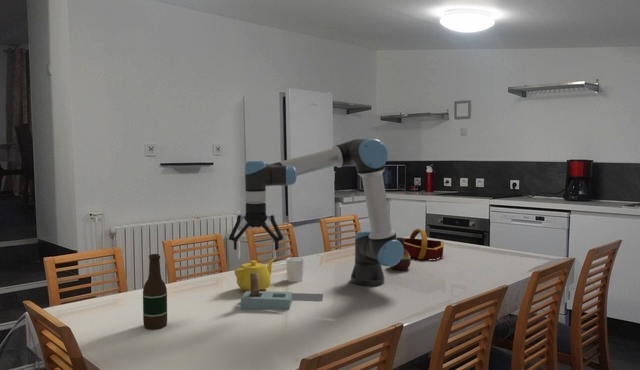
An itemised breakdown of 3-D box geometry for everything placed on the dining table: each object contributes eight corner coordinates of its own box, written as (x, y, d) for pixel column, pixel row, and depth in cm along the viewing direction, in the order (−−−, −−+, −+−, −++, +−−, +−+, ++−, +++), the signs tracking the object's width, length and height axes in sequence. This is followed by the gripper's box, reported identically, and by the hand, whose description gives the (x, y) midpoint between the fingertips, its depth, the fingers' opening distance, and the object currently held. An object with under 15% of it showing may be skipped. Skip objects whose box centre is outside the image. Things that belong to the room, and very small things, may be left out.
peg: (260, 304, 193) (260, 273, 192) (256, 306, 190) (256, 275, 189) (253, 303, 194) (253, 272, 194) (249, 305, 191) (248, 274, 191)
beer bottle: (146, 322, 172) (145, 252, 171) (169, 321, 173) (169, 252, 171) (140, 330, 164) (139, 257, 163) (164, 329, 165) (164, 257, 163)
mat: (323, 294, 207) (323, 293, 207) (322, 302, 197) (322, 301, 197) (289, 293, 208) (289, 293, 208) (286, 301, 198) (286, 300, 198)
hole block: (292, 302, 197) (292, 292, 196) (289, 310, 187) (289, 299, 186) (246, 301, 197) (246, 290, 197) (240, 309, 188) (240, 298, 187)
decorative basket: (447, 265, 273) (452, 238, 272) (393, 256, 274) (398, 229, 273) (435, 254, 306) (440, 229, 306) (388, 245, 307) (392, 221, 306)
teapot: (283, 288, 215) (283, 260, 214) (244, 297, 202) (244, 267, 201) (265, 282, 225) (265, 254, 224) (226, 290, 212) (225, 261, 211)
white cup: (301, 283, 224) (301, 261, 223) (284, 282, 225) (284, 260, 225) (305, 279, 232) (305, 257, 231) (288, 278, 233) (288, 256, 232)
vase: (385, 269, 252) (386, 239, 251) (391, 265, 262) (391, 235, 261) (407, 272, 248) (408, 240, 246) (412, 267, 258) (413, 237, 257)
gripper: (290, 201, 193) (290, 256, 194) (224, 201, 194) (225, 255, 196) (287, 203, 185) (288, 260, 187) (220, 203, 186) (221, 260, 188)
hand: (256, 258), depth 191 cm, fingers open, 13 cm apart
